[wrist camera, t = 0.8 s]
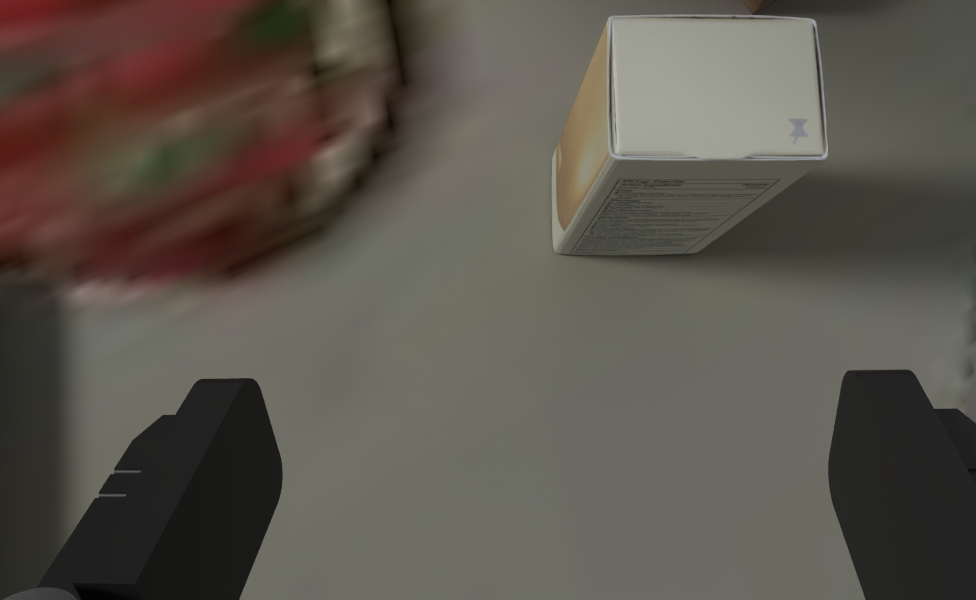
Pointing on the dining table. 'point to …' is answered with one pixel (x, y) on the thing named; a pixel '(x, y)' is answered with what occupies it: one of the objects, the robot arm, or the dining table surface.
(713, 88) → the skincare box
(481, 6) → the dining table surface
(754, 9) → the walnut stand
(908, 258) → the dining table surface
